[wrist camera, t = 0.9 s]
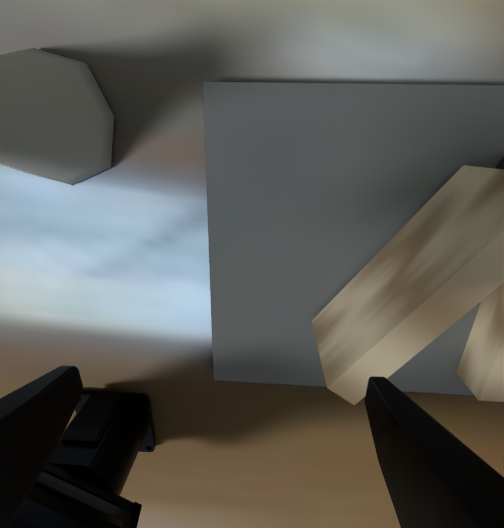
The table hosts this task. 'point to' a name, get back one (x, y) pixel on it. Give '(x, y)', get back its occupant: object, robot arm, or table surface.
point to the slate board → (327, 210)
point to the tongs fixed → (486, 347)
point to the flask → (53, 117)
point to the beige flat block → (416, 284)
